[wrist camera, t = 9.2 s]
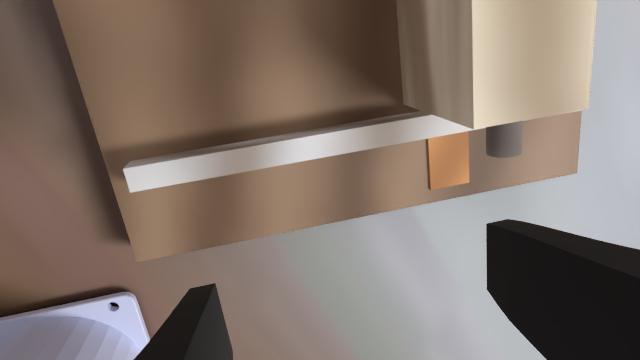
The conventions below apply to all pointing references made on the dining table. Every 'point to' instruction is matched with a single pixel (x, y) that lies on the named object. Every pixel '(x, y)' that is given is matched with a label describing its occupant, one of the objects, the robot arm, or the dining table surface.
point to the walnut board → (273, 119)
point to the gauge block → (496, 62)
